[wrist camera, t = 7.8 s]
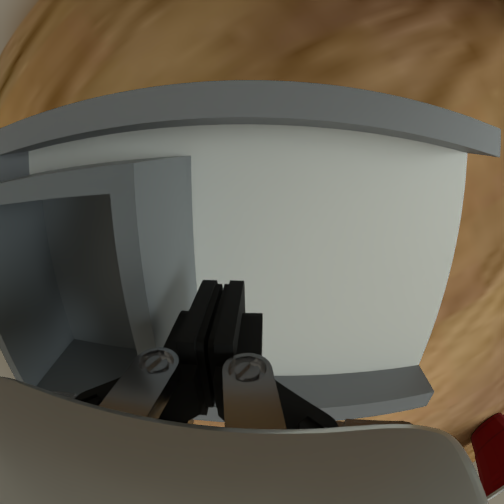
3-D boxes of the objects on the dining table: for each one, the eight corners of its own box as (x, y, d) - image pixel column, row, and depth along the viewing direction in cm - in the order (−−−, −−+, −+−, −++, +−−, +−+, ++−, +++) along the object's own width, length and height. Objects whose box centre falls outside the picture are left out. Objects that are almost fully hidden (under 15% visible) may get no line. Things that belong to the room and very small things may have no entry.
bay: (24, 132, 14) (-17, 136, 10) (458, 128, 13) (500, 129, 9) (67, 355, 20) (45, 385, 16) (407, 371, 19) (426, 405, 15)
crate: (35, 173, 14) (-46, 195, 7) (191, 155, 13) (133, 163, 7) (70, 338, 18) (23, 397, 11) (203, 357, 17) (182, 443, 11)
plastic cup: (441, 456, 26) (465, 517, 14) (486, 406, 22) (524, 472, 11) (484, 442, 26) (508, 492, 15) (523, 395, 22) (557, 446, 11)
